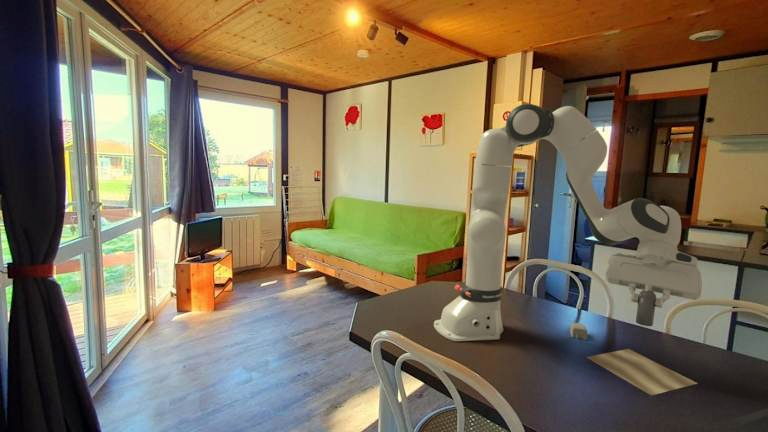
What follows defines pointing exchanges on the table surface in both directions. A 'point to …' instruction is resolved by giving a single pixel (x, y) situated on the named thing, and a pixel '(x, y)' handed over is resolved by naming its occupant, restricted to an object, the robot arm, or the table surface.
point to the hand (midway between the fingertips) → (646, 303)
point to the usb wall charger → (578, 330)
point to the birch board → (641, 371)
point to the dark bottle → (646, 306)
